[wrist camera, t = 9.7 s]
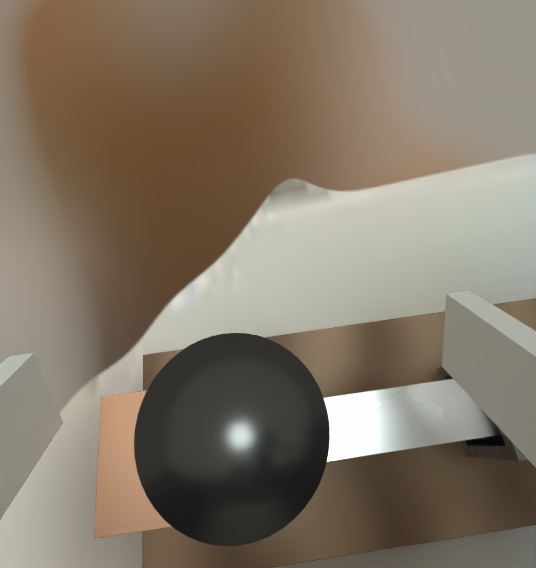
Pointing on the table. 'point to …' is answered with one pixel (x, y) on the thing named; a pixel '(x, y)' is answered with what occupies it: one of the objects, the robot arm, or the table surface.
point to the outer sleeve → (488, 441)
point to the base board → (373, 462)
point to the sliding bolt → (270, 435)
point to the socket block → (121, 472)
